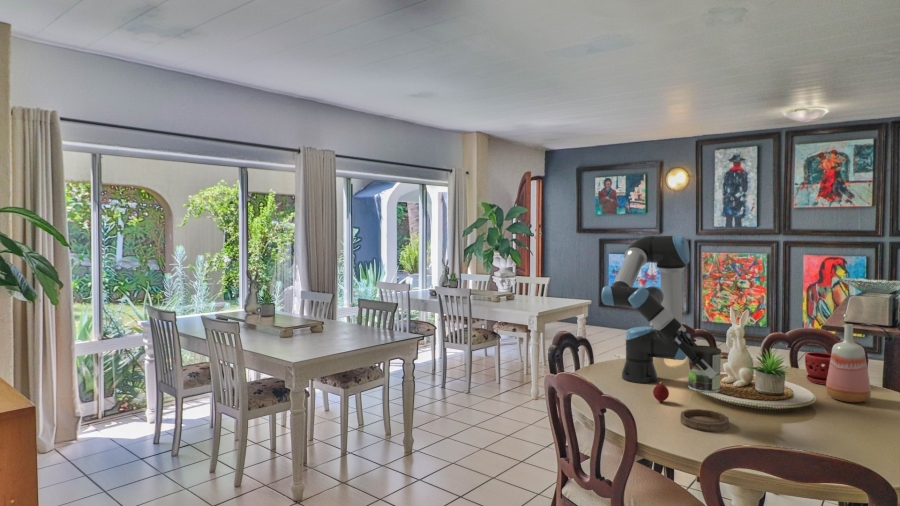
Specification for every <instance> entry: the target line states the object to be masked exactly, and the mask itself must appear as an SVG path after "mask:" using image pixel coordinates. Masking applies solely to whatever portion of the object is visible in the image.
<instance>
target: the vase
mask: <svg viewBox="0 0 900 506" xmlns="http://www.w3.org/2000/svg"><path fill="white" fill-rule="evenodd" d="M843 334H844V335H843V336H844V337H843V341H840V342H837V343H835V344H834V345H833V346H832V348H831V353H830V354H831V358H830V364H829V370H828V375H827V381H826V385H825V392H826V393H827V395H828V396H829V397H831V398H833V399H835V400H837V401H842V402H847V403H853V404H854V403H858V404H859V403H865V402H866V401H868V400H869V399H871V395H872V393H871V392H872V390H871V383H870V377H869V369H868V363H867V358H866V351H865V348H864V347H863V346H862V345H860V344H858V343H856V342H855V341H854V325H853V323H851V324H850V323H845V324H844V332H843Z"/></svg>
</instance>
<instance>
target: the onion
mask: <svg viewBox="0 0 900 506" xmlns="http://www.w3.org/2000/svg"><path fill="white" fill-rule="evenodd" d="M652 395H653V396H654V398H655V400H657V401H658V402H660V403H663V402H664V401H666V400H667V399H668V398H669V395H670V391H669V389H668V388H667V386H666V385H664V383H663V381H660V382H659V384H657V385H655V386H654V387H653V390H652Z"/></svg>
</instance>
